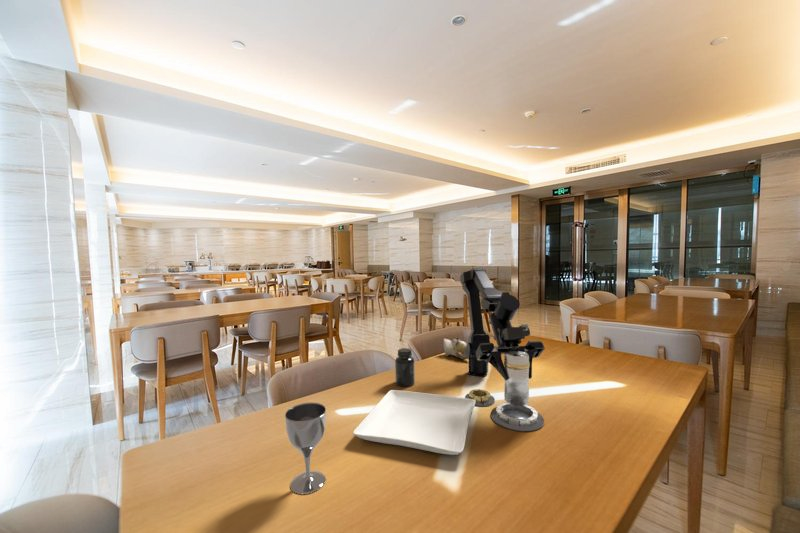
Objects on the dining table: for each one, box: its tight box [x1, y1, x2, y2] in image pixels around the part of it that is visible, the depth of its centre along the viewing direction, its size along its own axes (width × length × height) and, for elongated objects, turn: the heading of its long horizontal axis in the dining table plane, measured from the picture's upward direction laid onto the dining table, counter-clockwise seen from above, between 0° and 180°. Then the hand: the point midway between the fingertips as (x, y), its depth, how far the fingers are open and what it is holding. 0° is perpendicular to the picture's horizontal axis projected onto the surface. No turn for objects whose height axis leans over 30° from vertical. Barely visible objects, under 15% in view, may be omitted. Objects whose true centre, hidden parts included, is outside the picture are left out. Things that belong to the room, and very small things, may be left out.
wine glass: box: [284, 402, 327, 495], centre depth 69 cm, size 8×8×15 cm
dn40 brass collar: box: [464, 388, 495, 407], centre depth 105 cm, size 9×9×2 cm
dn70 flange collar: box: [490, 401, 545, 433], centre depth 93 cm, size 14×14×2 cm
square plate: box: [352, 389, 476, 456], centre depth 90 cm, size 27×27×4 cm
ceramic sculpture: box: [442, 337, 469, 360], centre depth 147 cm, size 11×9×15 cm
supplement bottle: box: [394, 347, 416, 388], centre depth 119 cm, size 7×7×12 cm
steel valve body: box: [503, 351, 530, 406], centre depth 93 cm, size 7×7×13 cm
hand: (518, 378), depth 91 cm, fingers closed on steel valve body, 6 cm apart
